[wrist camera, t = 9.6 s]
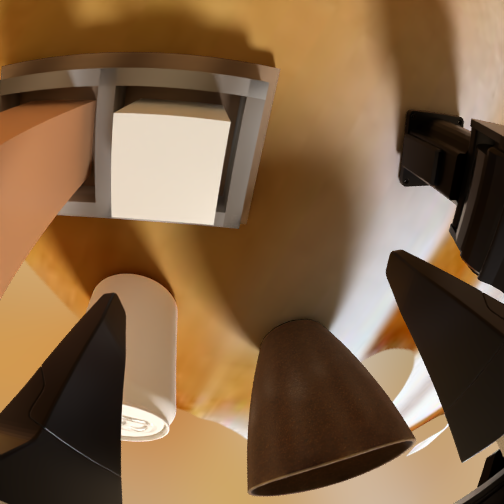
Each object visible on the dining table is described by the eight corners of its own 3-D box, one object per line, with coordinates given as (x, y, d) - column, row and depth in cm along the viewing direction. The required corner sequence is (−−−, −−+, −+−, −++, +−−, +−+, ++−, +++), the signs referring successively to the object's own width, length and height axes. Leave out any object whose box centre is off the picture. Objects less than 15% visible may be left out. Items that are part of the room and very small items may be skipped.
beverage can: (110, 253, 23) (71, 381, 13) (194, 293, 26) (198, 420, 16) (83, 311, 26) (55, 421, 16) (155, 341, 29) (150, 449, 20)
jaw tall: (96, 100, 15) (-50, 177, 4) (91, 173, 17) (-9, 317, 7) (32, 100, 14) (-118, 179, 3) (31, 170, 16) (-84, 292, 6)
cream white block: (222, 105, 17) (230, 121, 12) (210, 180, 19) (213, 224, 14) (141, 98, 15) (113, 112, 11) (135, 173, 18) (111, 217, 13)
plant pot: (375, 330, 34) (429, 442, 21) (281, 388, 38) (308, 494, 25) (312, 266, 26) (387, 434, 13) (198, 348, 31) (209, 495, 18)
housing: (276, 68, 17) (291, 69, 14) (244, 216, 23) (251, 243, 20) (10, 65, 12) (-19, 70, 9) (15, 201, 18) (-8, 224, 15)
